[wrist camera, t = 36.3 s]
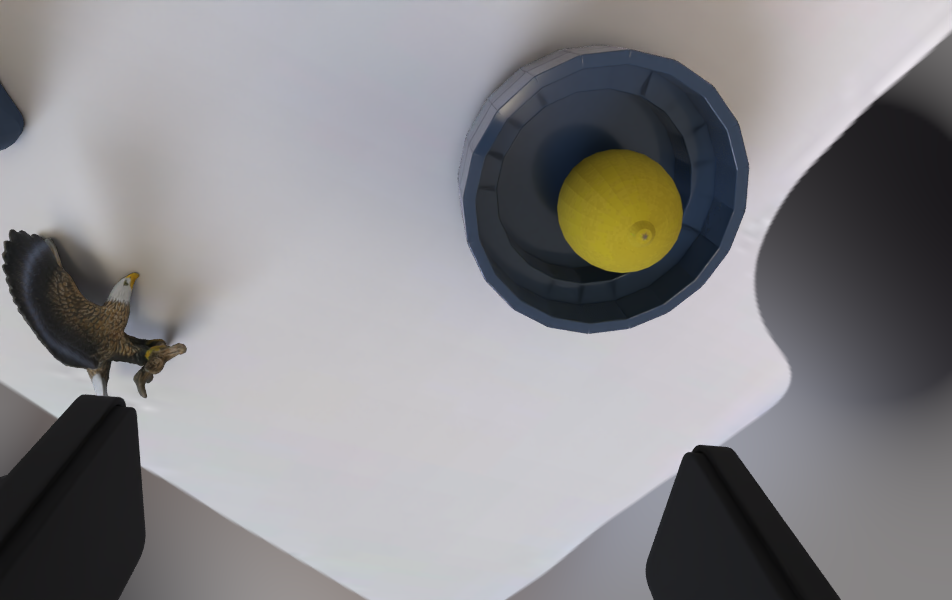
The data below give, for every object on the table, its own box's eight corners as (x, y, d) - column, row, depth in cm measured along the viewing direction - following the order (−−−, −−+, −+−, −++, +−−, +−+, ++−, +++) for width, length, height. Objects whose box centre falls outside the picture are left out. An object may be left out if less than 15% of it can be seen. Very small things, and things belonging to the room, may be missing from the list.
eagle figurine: (221, 285, 33) (42, 186, 29) (159, 407, 29) (-59, 315, 25) (171, 326, 39) (13, 248, 34) (113, 435, 35) (-75, 362, 30)
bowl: (436, 270, 35) (439, 309, 31) (489, 17, 30) (501, 17, 25) (656, 308, 37) (690, 351, 33) (739, 78, 32) (794, 89, 28)
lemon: (632, 244, 35) (688, 304, 28) (535, 231, 34) (565, 290, 27) (659, 144, 33) (727, 180, 25) (556, 128, 32) (596, 161, 25)
